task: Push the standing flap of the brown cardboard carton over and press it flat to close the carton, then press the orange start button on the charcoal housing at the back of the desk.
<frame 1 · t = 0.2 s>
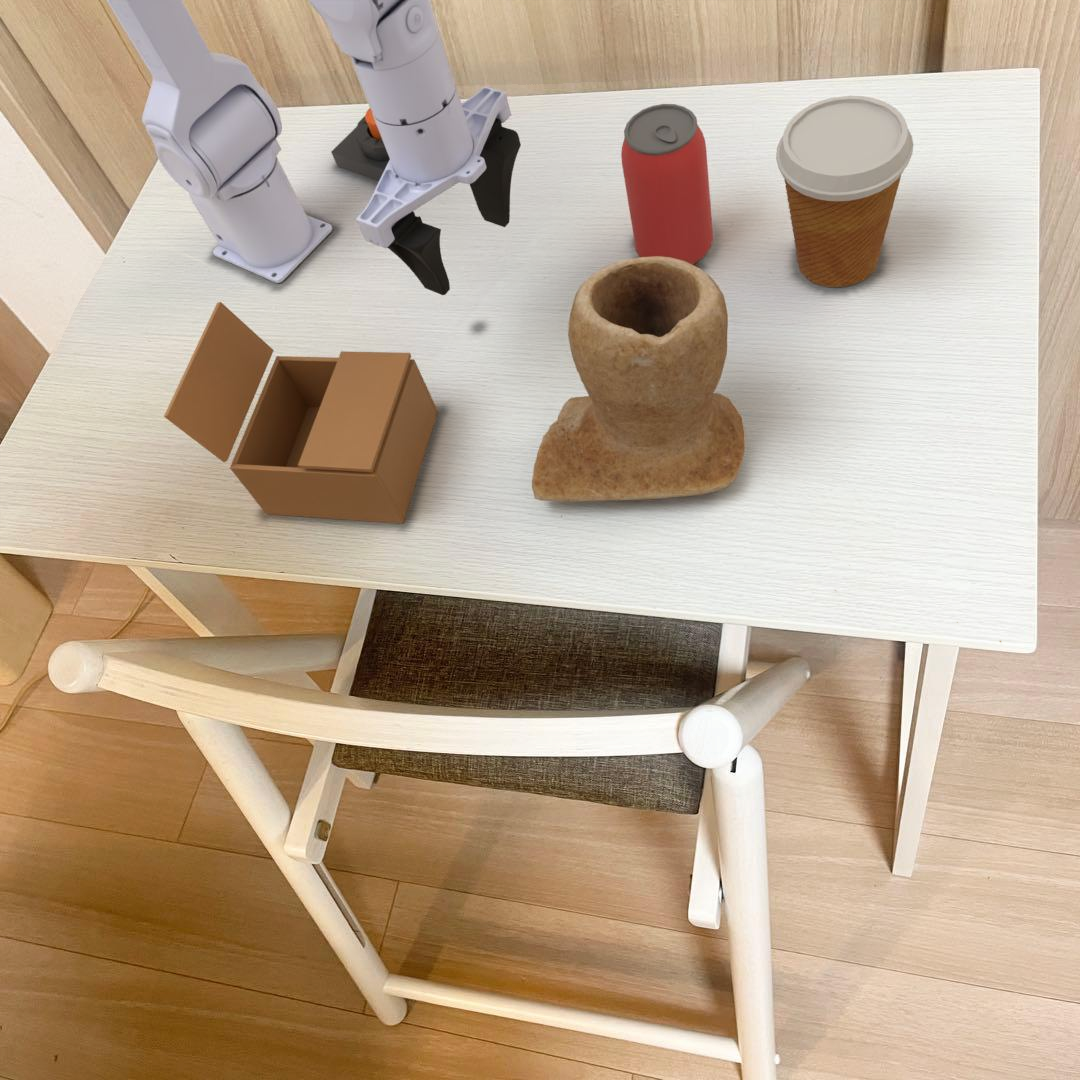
hand: (467, 254, 78), 10 cm above the table, tool pointing down, fingers open, 7 cm apart
carton: (353, 462, 83), on the table
button box: (399, 154, 102), on the table
stone cup: (643, 448, 78), on the table
flap: (221, 381, 76), point 10 cm above the table, hinge at 110.0°
beer can: (674, 248, 88), on the table
disposable coffee cup: (837, 261, 83), on the table
button: (386, 119, 99), point 4 cm above the table, slide at 0.1 cm
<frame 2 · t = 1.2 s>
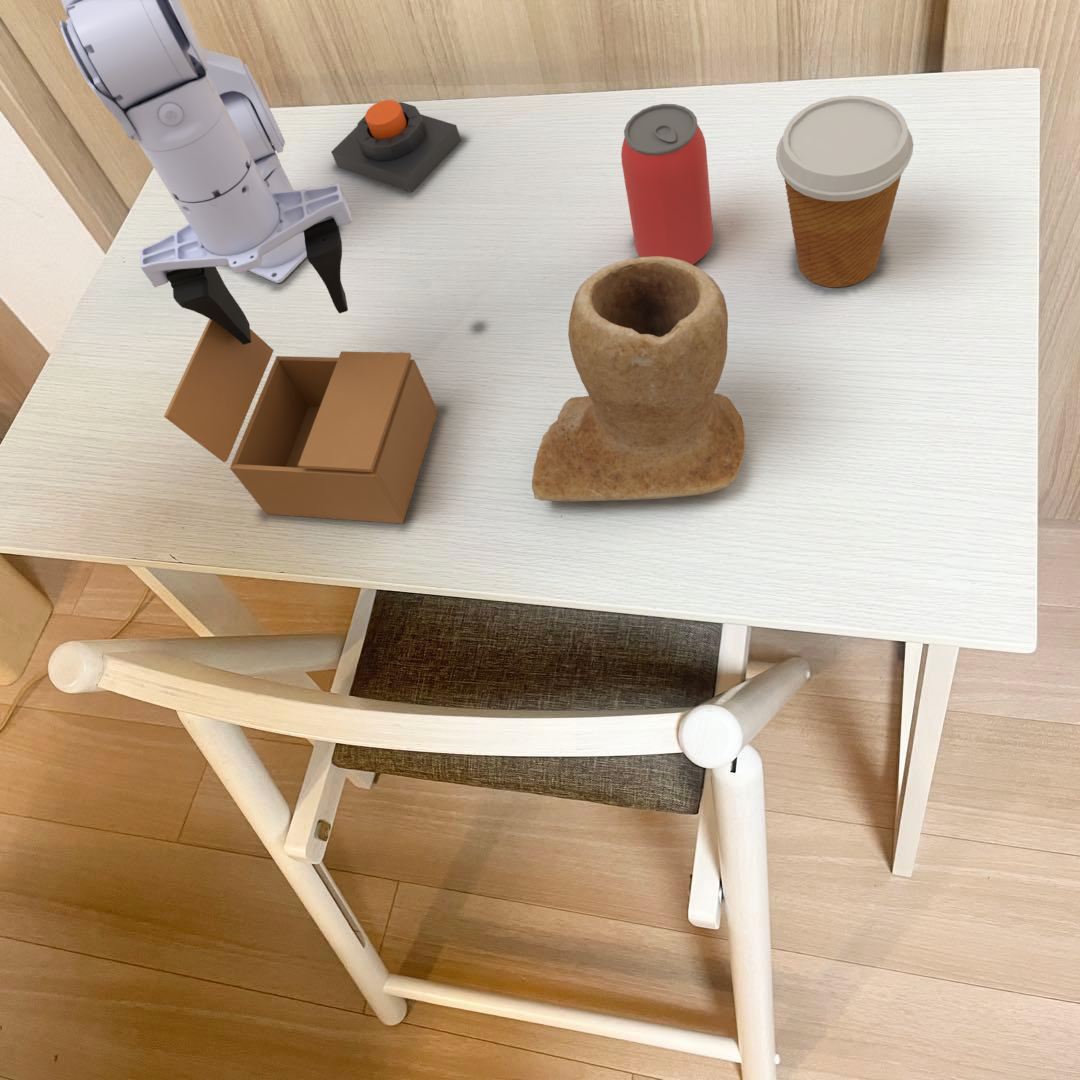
hand: (294, 318, 77), 10 cm above the table, tool pointing down, fingers open, 7 cm apart
flap: (221, 381, 76), point 10 cm above the table, hinge at 110.1°, touching gripper
everything else where it was.
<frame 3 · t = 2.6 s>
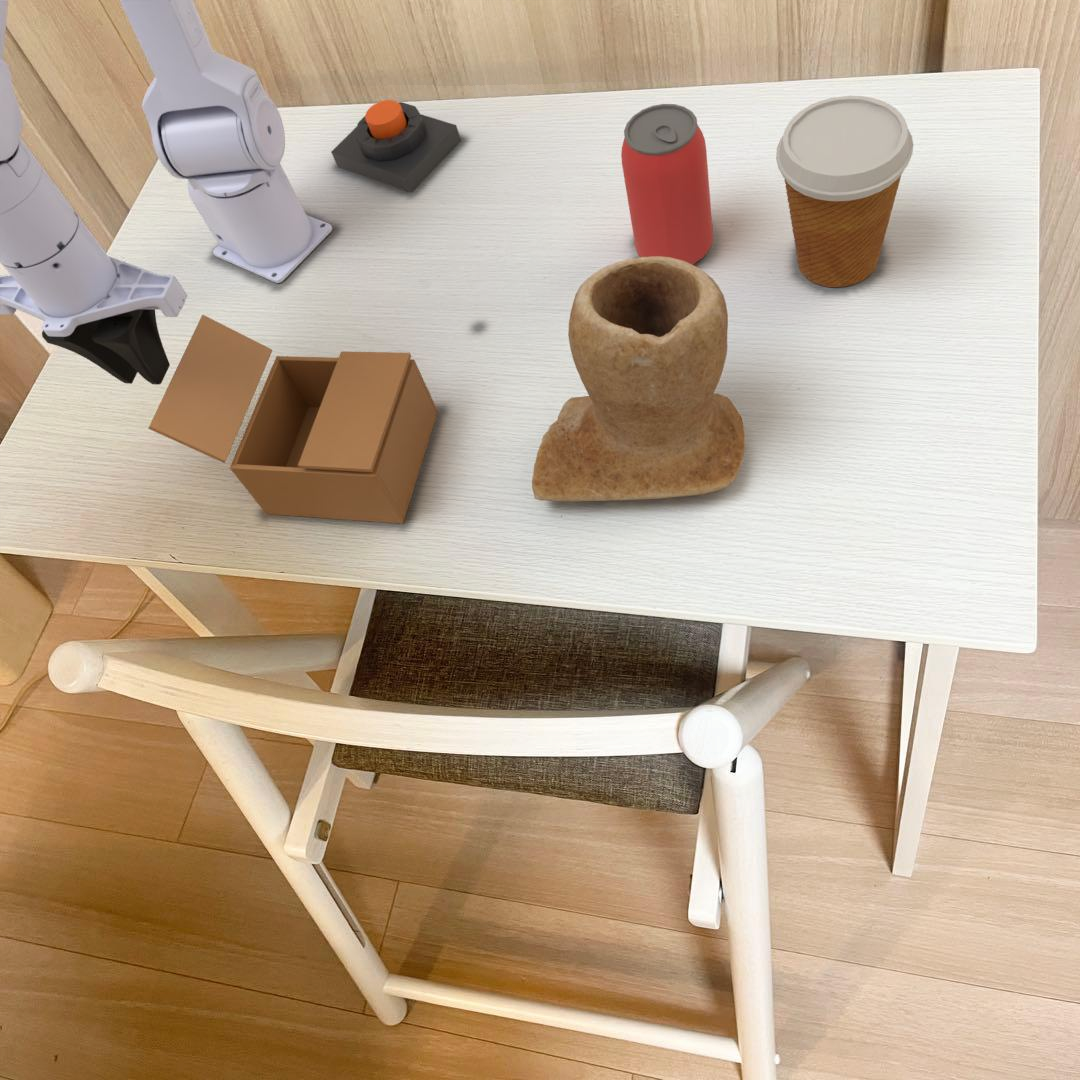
hand: (147, 373, 77), 10 cm above the table, tool pointing down, fingers closed
flap: (213, 387, 77), point 9 cm above the table, hinge at 136.7°
everything else where it was.
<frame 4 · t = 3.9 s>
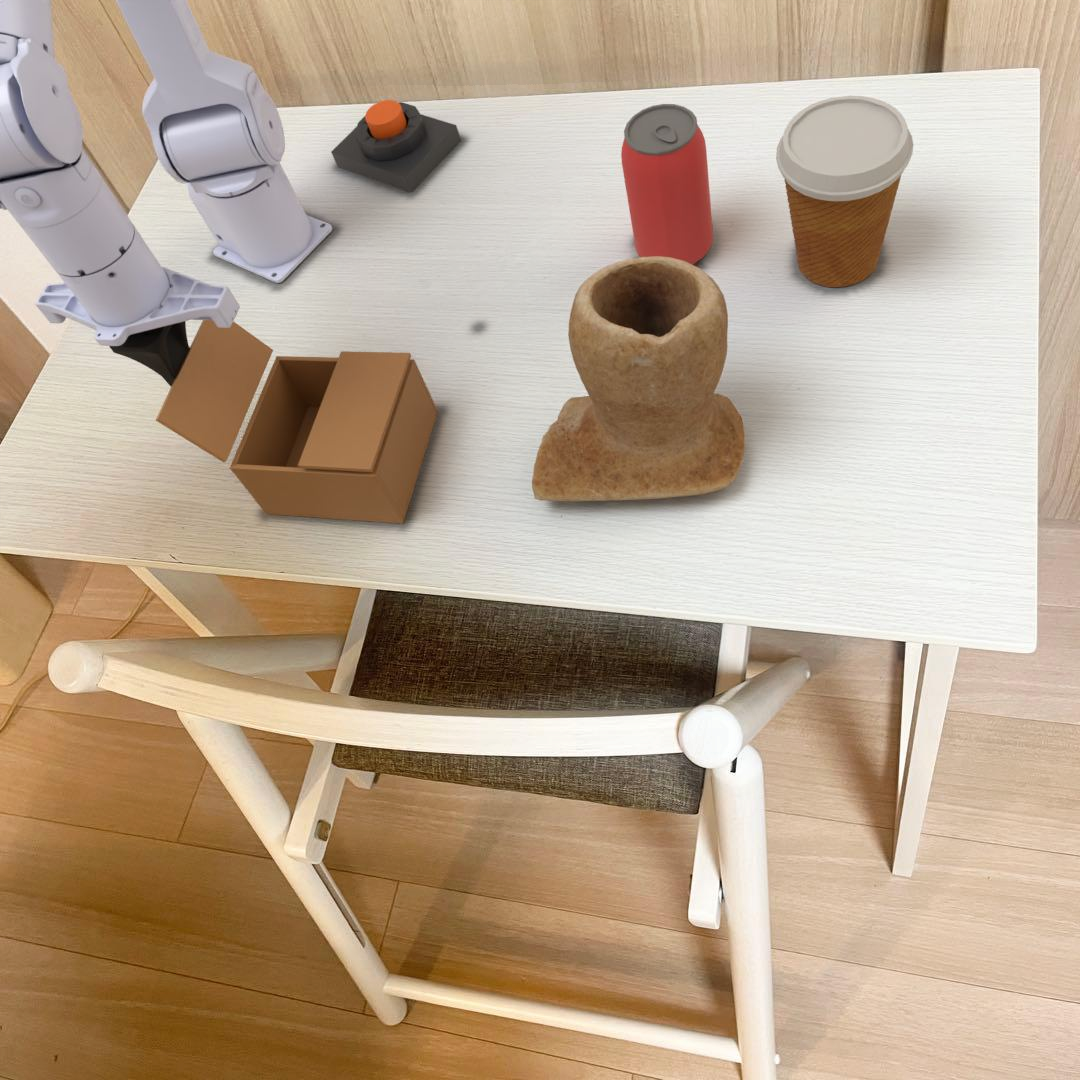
hand: (193, 384, 77), 10 cm above the table, tool pointing down, fingers closed, pressing on flap
flap: (217, 383, 77), point 10 cm above the table, hinge at 120.5°, touching gripper
everything else where it was.
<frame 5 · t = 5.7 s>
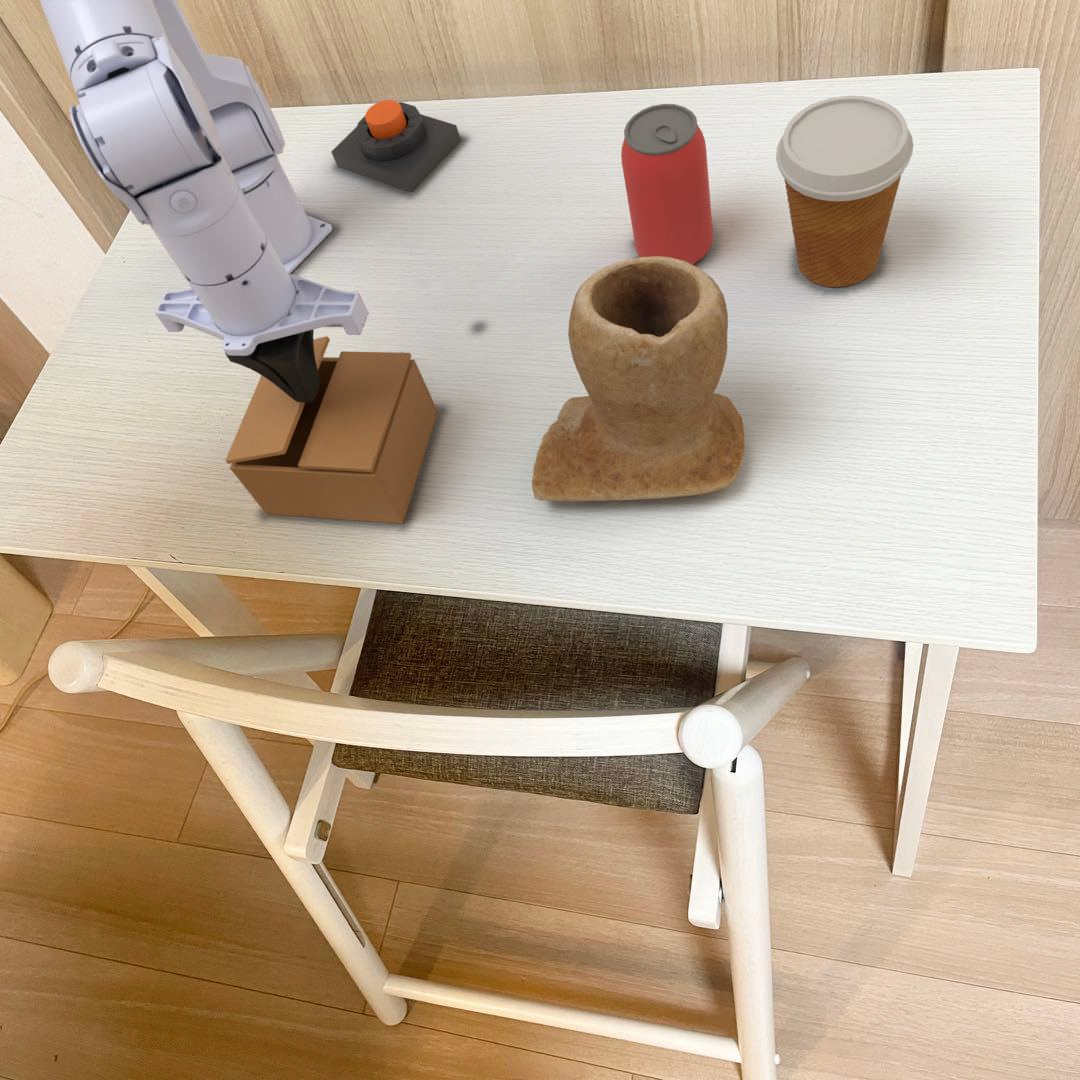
hand: (308, 391, 75), 9 cm above the table, tool pointing down, fingers closed
flap: (278, 399, 77), point 8 cm above the table, hinge at 17.2°
everything else where it was.
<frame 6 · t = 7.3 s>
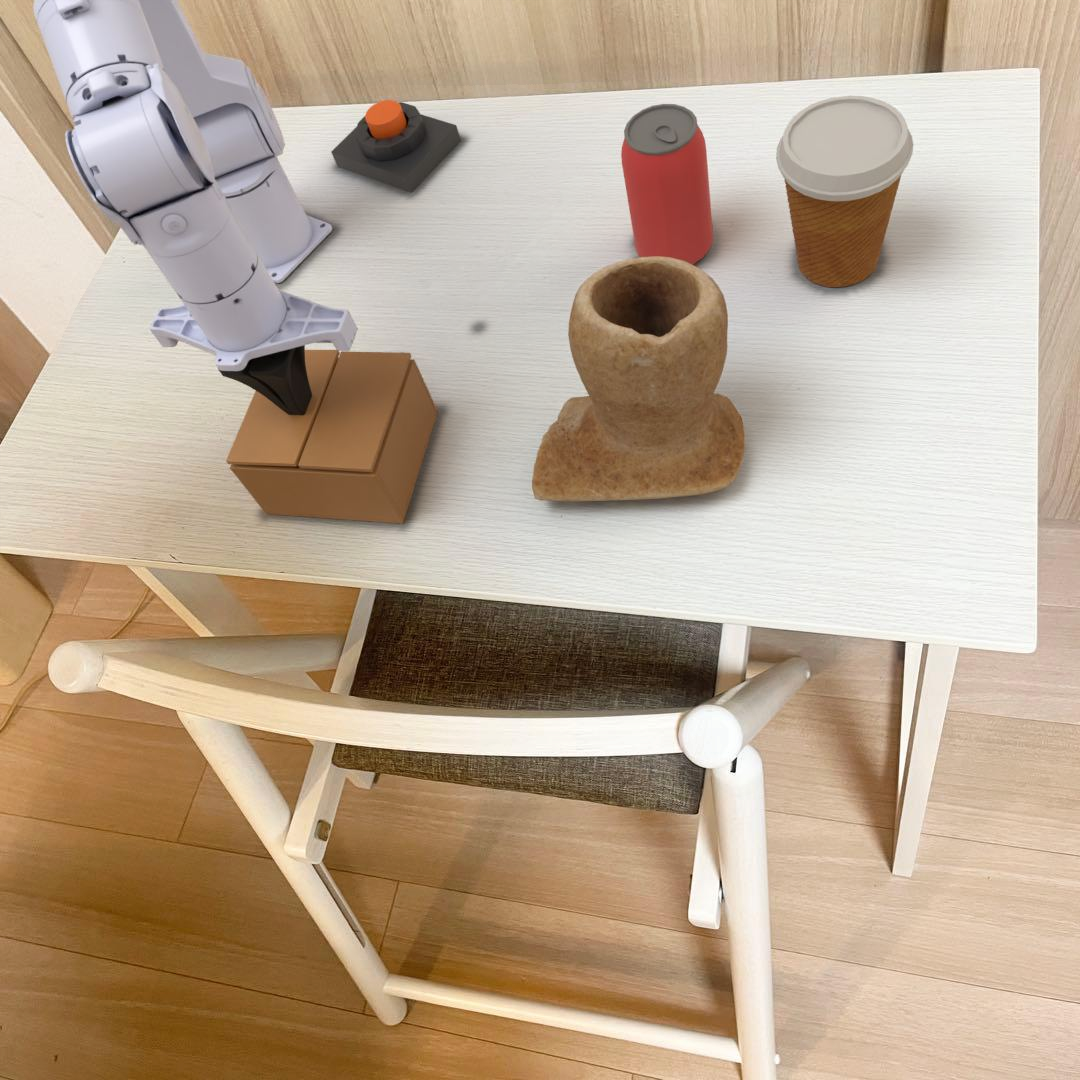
hand: (300, 404, 77), 7 cm above the table, tool pointing down, fingers closed, pressing on flap
flap: (284, 405, 77), point 7 cm above the table, hinge at 1.8°, touching gripper
everything else where it was.
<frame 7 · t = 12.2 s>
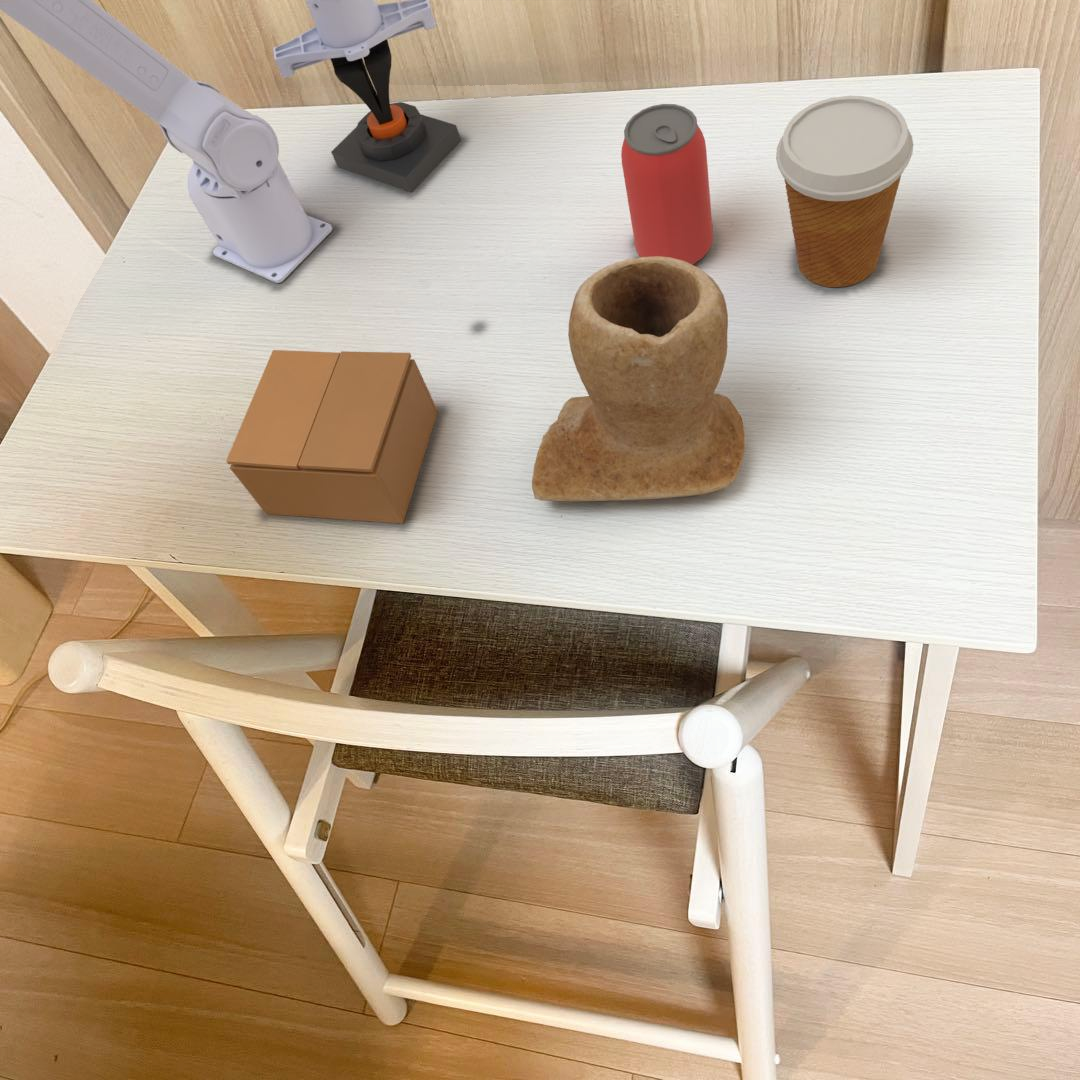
hand: (385, 116, 98), 4 cm above the table, tool pointing down, fingers closed, pressing on button
flap: (285, 407, 78), point 7 cm above the table, hinge at -1.6°
button: (387, 124, 99), point 3 cm above the table, slide at -0.4 cm, touching gripper
everything else where it was.
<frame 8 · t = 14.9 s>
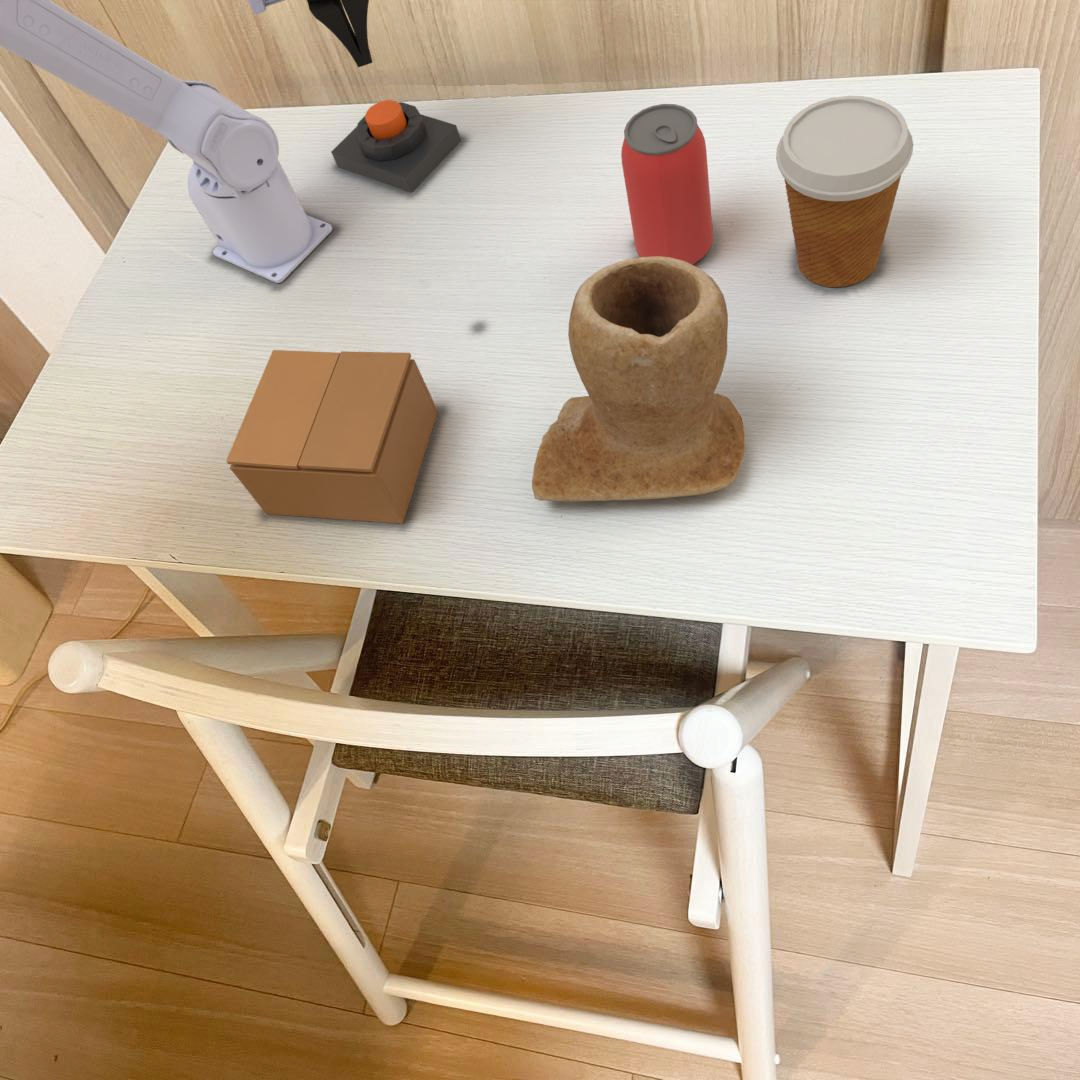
hand: (363, 59, 93), 10 cm above the table, tool pointing down, fingers closed
button: (386, 120, 99), point 4 cm above the table, slide at 0.1 cm
everything else where it was.
at the end: flap at -2° (first picture: +110°); button pushed in 1.0 cm at the most during the clip, back to where it started at the end; button slide at 0.1 cm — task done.
